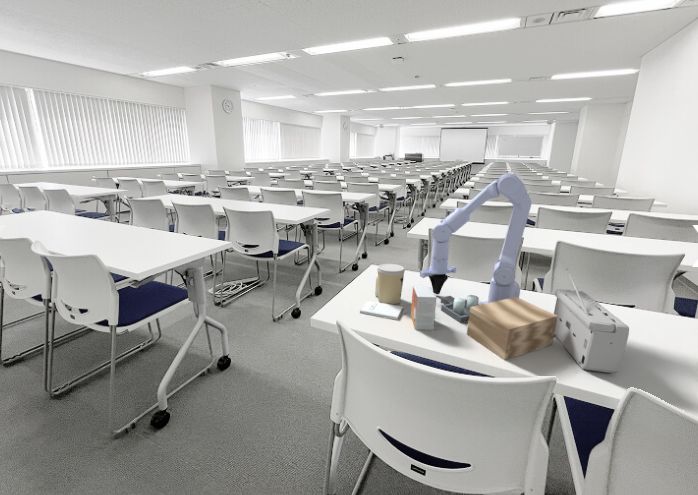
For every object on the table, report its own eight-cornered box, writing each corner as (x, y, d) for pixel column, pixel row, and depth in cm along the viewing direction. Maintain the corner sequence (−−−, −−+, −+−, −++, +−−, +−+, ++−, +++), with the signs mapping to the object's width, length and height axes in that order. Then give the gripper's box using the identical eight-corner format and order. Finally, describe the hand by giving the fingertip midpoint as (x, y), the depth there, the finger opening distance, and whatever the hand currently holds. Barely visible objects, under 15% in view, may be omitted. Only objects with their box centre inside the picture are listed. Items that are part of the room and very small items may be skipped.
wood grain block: (511, 322, 101) (516, 296, 98) (551, 344, 89) (557, 315, 87) (466, 334, 94) (470, 307, 91) (504, 359, 82) (509, 329, 80)
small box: (410, 316, 103) (412, 285, 101) (428, 317, 103) (430, 286, 100) (414, 329, 96) (417, 296, 93) (433, 330, 96) (436, 297, 93)
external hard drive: (397, 321, 101) (359, 314, 106) (403, 310, 109) (367, 304, 113) (397, 317, 101) (359, 309, 105) (403, 306, 108) (367, 299, 112)
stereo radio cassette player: (619, 377, 76) (641, 299, 71) (580, 373, 78) (599, 295, 72) (575, 331, 96) (590, 267, 91) (545, 328, 98) (558, 265, 92)
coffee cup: (406, 304, 111) (409, 270, 108) (380, 306, 109) (381, 272, 106) (397, 294, 120) (399, 262, 117) (372, 295, 118) (374, 263, 115)
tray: (458, 298, 117) (460, 285, 116) (489, 316, 105) (491, 301, 103) (431, 304, 112) (432, 290, 111) (460, 323, 100) (462, 307, 99)
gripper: (448, 252, 121) (444, 286, 125) (415, 256, 116) (413, 292, 119) (461, 257, 115) (457, 293, 119) (428, 262, 109) (425, 299, 113)
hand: (436, 293), depth 119 cm, fingers closed
